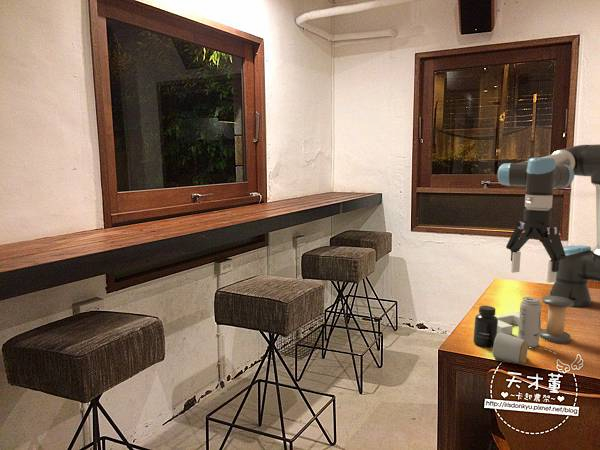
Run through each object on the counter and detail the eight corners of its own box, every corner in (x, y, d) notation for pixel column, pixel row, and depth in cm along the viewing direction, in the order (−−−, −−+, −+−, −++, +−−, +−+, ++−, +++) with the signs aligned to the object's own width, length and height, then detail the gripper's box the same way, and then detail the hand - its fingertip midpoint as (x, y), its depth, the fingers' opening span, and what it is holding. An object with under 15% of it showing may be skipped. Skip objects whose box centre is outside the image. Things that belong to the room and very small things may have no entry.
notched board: (517, 320, 180) (518, 312, 180) (540, 328, 171) (541, 320, 171) (479, 326, 173) (480, 318, 173) (501, 336, 164) (502, 327, 164)
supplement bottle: (480, 348, 154) (482, 311, 152) (469, 340, 160) (471, 304, 159) (500, 347, 155) (503, 310, 153) (489, 339, 161) (491, 303, 160)
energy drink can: (538, 350, 153) (542, 303, 151) (517, 346, 155) (520, 300, 153) (538, 343, 158) (541, 297, 156) (517, 340, 161) (520, 295, 159)
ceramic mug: (521, 368, 140) (523, 342, 139) (491, 361, 145) (493, 335, 144) (530, 357, 148) (532, 332, 147) (502, 350, 153) (503, 326, 152)
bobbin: (552, 331, 169) (555, 294, 167) (576, 340, 160) (579, 302, 159) (533, 335, 165) (536, 297, 163) (556, 344, 157) (559, 305, 155)
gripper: (497, 205, 160) (493, 269, 163) (565, 213, 138) (559, 287, 141) (514, 204, 163) (510, 267, 166) (583, 212, 141) (577, 285, 144)
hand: (532, 276), depth 153 cm, fingers open, 13 cm apart
